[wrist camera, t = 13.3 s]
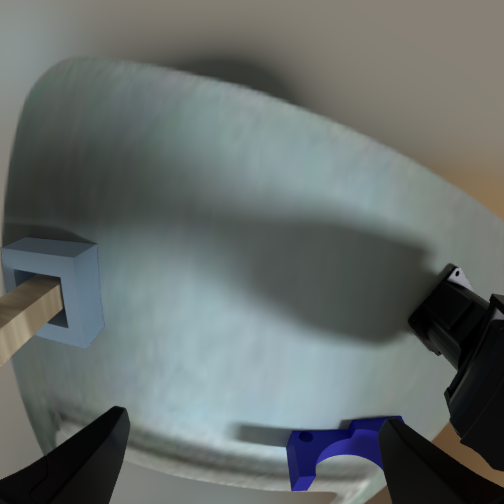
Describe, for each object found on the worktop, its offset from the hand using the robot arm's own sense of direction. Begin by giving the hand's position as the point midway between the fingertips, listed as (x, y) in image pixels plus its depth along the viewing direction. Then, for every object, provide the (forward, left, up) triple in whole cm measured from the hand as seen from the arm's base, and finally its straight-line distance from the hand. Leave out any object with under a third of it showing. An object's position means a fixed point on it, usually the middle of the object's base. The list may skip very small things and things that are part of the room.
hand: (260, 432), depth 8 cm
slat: (+12, +10, -12) cm, 20 cm away
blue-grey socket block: (+12, +10, -13) cm, 20 cm away
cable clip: (-19, +7, -13) cm, 24 cm away
